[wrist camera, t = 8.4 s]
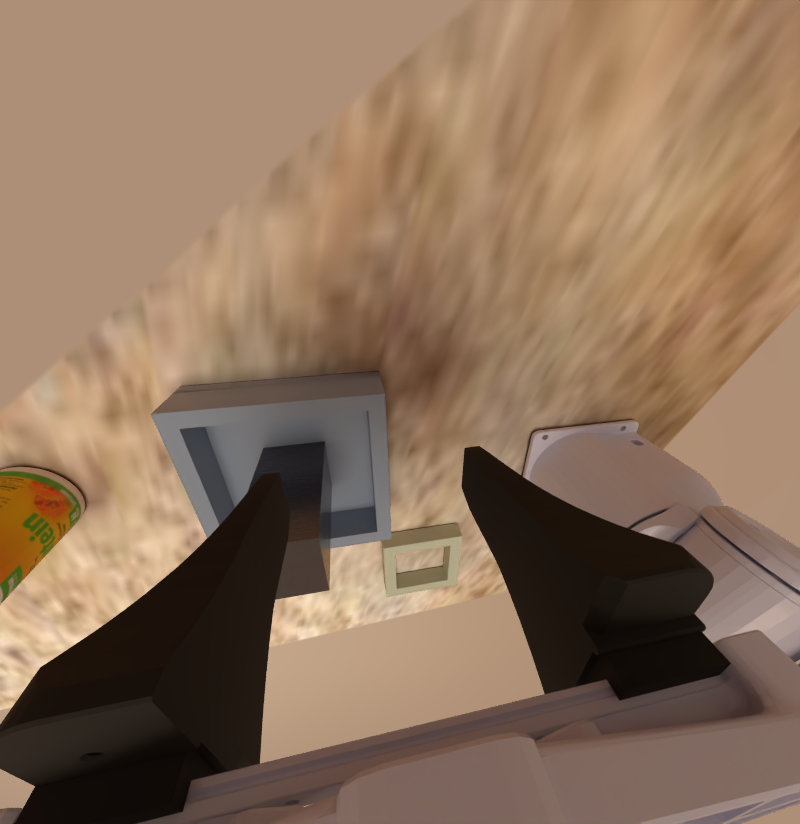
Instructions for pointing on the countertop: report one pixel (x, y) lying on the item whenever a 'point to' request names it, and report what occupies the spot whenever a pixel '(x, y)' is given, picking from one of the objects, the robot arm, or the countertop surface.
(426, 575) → the holder
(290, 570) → the dark wooden post
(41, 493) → the supplement bottle
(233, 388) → the tray
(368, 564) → the countertop surface
